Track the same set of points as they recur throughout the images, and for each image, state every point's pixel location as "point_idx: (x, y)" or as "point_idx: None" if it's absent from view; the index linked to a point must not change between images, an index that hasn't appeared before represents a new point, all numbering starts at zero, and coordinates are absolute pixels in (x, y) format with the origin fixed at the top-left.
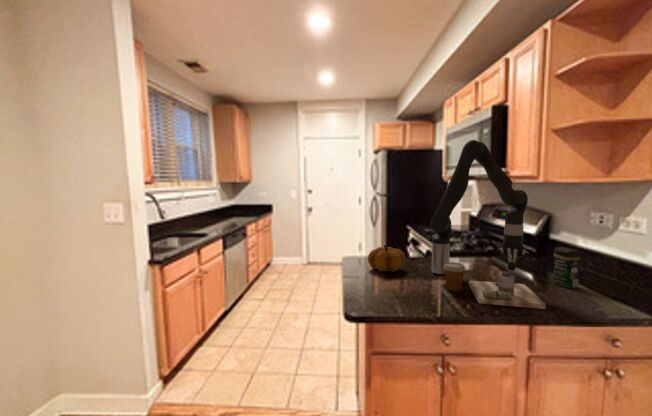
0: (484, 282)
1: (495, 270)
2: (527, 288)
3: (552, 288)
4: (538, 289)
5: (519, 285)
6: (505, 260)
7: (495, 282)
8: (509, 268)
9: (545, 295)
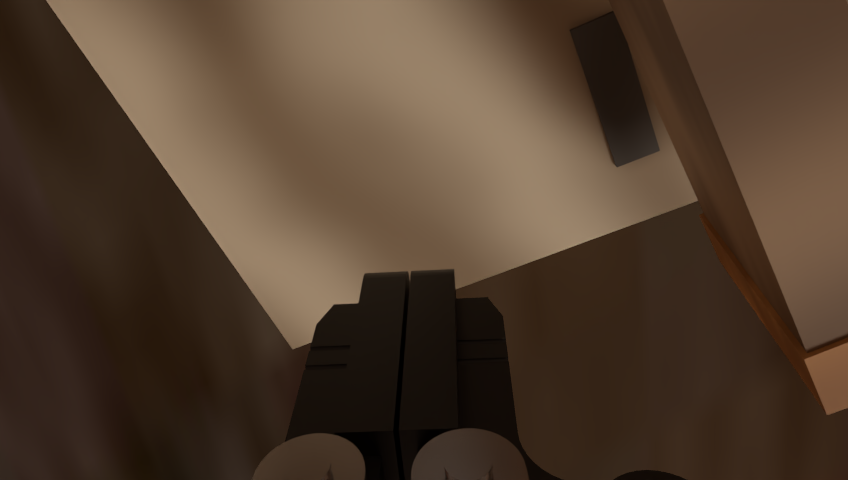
0: None
1: (841, 12)
2: (203, 191)
3: (73, 464)
4: (165, 362)
5: (330, 262)
6: (636, 477)
7: (662, 202)
8: (463, 310)
9: (22, 193)
